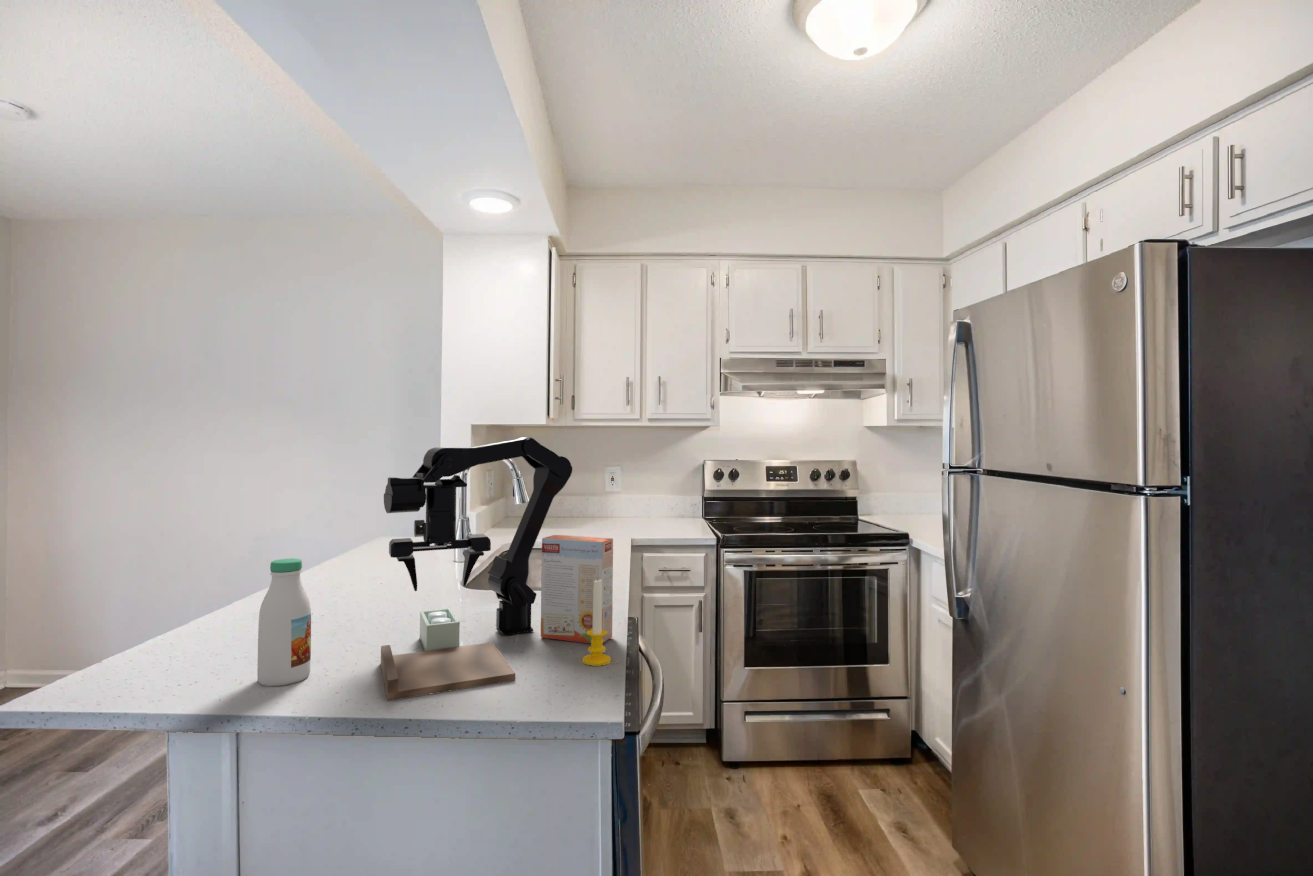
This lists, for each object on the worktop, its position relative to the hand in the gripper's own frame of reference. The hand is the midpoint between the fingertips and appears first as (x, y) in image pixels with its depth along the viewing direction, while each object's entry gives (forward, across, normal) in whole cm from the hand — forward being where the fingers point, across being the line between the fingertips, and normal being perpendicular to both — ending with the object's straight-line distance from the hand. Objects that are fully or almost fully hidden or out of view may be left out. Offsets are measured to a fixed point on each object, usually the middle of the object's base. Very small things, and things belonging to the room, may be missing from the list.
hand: (440, 588), depth 125 cm
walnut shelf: (+11, +1, +16) cm, 20 cm away
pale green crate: (+11, 0, 0) cm, 11 cm away
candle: (+11, -25, +22) cm, 35 cm away
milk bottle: (+11, +26, +8) cm, 29 cm away
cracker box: (+11, -26, +7) cm, 29 cm away
